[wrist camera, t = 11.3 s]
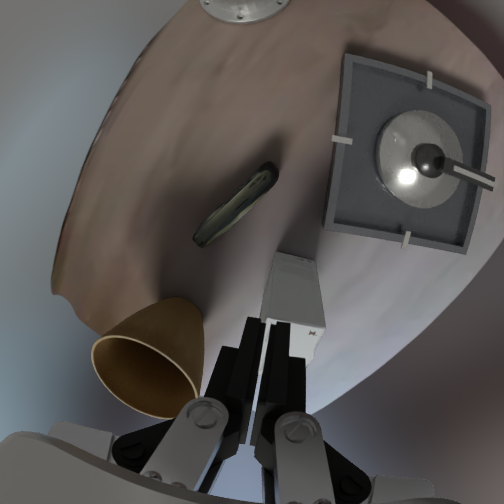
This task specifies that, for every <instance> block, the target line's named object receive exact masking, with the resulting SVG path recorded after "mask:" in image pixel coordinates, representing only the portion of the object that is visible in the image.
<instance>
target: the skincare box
mask: <svg viewBox="0 0 504 504" xmlns="http://www.w3.org/2000/svg"><path fill="white" fill-rule="evenodd" d="M260 319H261V322H262V323H266V329H265V335H264V341H263V348H262V354H261V360H260V366H259V372H258V374H261V375H262V372H263V366H264V361H265V355H266V349H267V343H268V338H269V332H270V326H271V324H275V325H276V322H277V321H280V322H288V323H291V328H290V348H289V356H292V357H301V358H305V359H306V368H307V366H308V364H309V363H310V362H311V361H312V359H313V357H314V351H315V349H316V347H317V345H318V342H319V340H320V339H321V337H322V335H323V333H324V332H325V330H326V324H325V317H324V310H323V304H322V297H321V291H320V285H319V279H318V273H317V268H316V262H315V261H313V260H309V259H305V258H301V257H297V256H293V255H289V254H285V253H281V252H275V255H274V261H273V265H272V269H271V274H270V277H269V281H268V284H267V287H266V291H265V293H264V296H263V300H262V305H261V312H260Z"/></svg>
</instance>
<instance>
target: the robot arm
mask: <svg viewBox="0 0 504 504" xmlns="http://www.w3.org/2000/svg"><path fill="white" fill-rule="evenodd" d="M199 1H200V3H201V5H202V7H203V8H204V10H205V11H206V12H207V13H208V14H209V15H211V16H212V17H214V18H216V19H217V20H220V21H223V22H226V23H232V24H250V23H256V22H260V21H263V20H266V19H269V18H271V17H273V16H275V15H277V14H278V13H279V12H281V11H282V10H283V9H284V8H285V7H286V6H287V5H288V4H289V2H290V0H199ZM279 4H281V5H279ZM240 18H243V19H240ZM290 328H291V323H288V322H280V321H277V322H276V325H275V324H271V326H270V332H269V338H268V343H267V349H266V355H265V361H264V366H263V372H262V378H261V384H260V390H259V396H258V401H257V407H256V413H255V419H254V424H253V430H252V435H251V440H250V445H252V446H255V451H254V453H255V456H254V457H255V458H256V459H257V460H258V461H259V463H260V464H261V465H262V498H263V503H254V502H248V501H240V500H235V499H229V498H223V497H218V496H213V495H210V493H211V490H212V489H213V487H214V485H215V482H216V480H217V478H218V476H219V474H220V472H221V470H222V467H223V465H224V463H225V460H226V459H227V458H229V457H231V456H233V455H235V454H236V452H237V450H238V446H239V444H245V441H246V436H247V431H248V426H249V420H250V415H251V410H252V405H253V400H254V394H255V389H256V383H257V378H258V372H259V366H260V360H261V354H262V348H263V341H264V335H265V329H266V323H262V322H261V319H260V318H253V317H247V320H246V324H245V328H244V331H243V335H242V339H241V342H240V346H239V348H233V347H227V346H222V348H221V350H220V353H219V356H218V358H217V361H216V364H215V367H214V370H213V373H212V375H211V378H210V381H209V384H208V387H207V389H206V392H205V395H204V397H199V398H196V399H193V400H191V401H189V402H187V404H186V405H185V406H184V407H183V408H182V410H181V412H180V413H179V415H178V416H177V417H175V418H173V419H170V420H167V421H165V422H162V423H159V424H156V425H153V426H150V427H147V428H144V429H141V430H138V431H135V432H132V433H128V434H125V435H123V436H121V437H120V436H115V435H113V433H111V432H106V431H101V430H96V429H92V428H88V427H84V426H80V425H76V424H73V423H69V422H58V423H56V424H54V425H53V426H52V427H51V429H50V430H49V433H48V435H45V434H42V433H36V432H28V431H27V432H26V431H21V432H15V433H13V434H10V435H9V436H7V437H6V438H5V439H4V440H3V441H2V442H1V443H0V504H461V503H459V502H457V501H454V500H450V499H445V498H434V488H433V486H432V484H431V483H430V482H429V481H427V480H425V479H418V478H401V477H389V476H380V475H376V476H375V477H371V476H367V475H366V474H365V473H364V472H363V471H362V470H360V469H359V468H358V467H356V466H355V465H354V464H353V463H351V462H350V461H349V460H347V459H346V458H345V457H344V456H342V455H341V454H340V453H339V452H337V451H336V450H335V449H334V448H333V447H331V446H330V445H329V444H328V443H326V442H325V441H324V440H323V436H322V431H321V427H320V424H319V422H318V421H317V420H316V419H315V418H314V417H313V416H311V415H310V414H307V413H306V359H305V358H301V357H292V356H289V348H290Z"/></svg>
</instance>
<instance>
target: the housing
mask: <svg viewBox="0 0 504 504" xmlns="http://www.w3.org/2000/svg"><path fill="white" fill-rule="evenodd" d="M414 110H422V111H427V112H431V113H433V114H435V115H437V116H439V117H440V118H442V119H443V120H444V121H445V122H446V123H447V124H448V125H449V126H450V127H451V128H452V130H453V131H454V133H455V134H456V136H457V138H458V141H459V143H460V146H461V150H462V155H463V164H465V165H468V166H470V167H472V168H475V169H477V170H479V171H482V172H484V173H485V171H486V164H487V157H488V148H489V138H490V124H491V105H489V104H487V103H485V102H484V101H482V100H480V99H478V98H476V97H474V96H472V95H470V94H468V93H465V92H463V91H461V90H459V89H457V88H454V87H452V86H450V85H448V84H445V83H443V82H440V81H438V80H435V79H433V78H432V72H430V71H426V76H425V75H422V74H419V73H416V72H413V71H410V70H407V69H404V68H401V67H398V66H395V65H391V64H388V63H384V62H381V61H377V60H373V59H369V58H365V57H361V56H357V55H352V54H347V53H345V54H344V56H343V57H342V61H341V75H340V88H339V99H338V109H337V119H336V128H335V135H332V138H331V141H334V145H333V153H332V161H331V168H330V175H329V182H328V188H327V195H326V201H325V208H324V214H323V219H322V226H323V229H324V230H329V231H335V232H342V233H348V234H354V235H360V236H366V237H372V238H378V239H384V240H390V241H396V242H401V243H402V245H401V249H407V245H408V244H413V245H418V246H423V247H429V248H434V249H439V250H445V251H450V252H455V253H460V254H465V255H466V253H467V250H468V246H469V243H470V239H471V236H472V232H473V229H474V225H475V221H476V217H477V213H478V208H479V204H480V199H481V194H482V189H483V188H481V187H478V186H476V185H473V184H471V183H468V182H466V181H463V180H461V179H460V182H459V184H458V186H457V188H456V190H455V191H454V193H453V194H452V195H451V197H450V198H449V199H447V200H446V201H445V202H443V203H442V204H440V205H438V206H435V207H432V208H417V207H413V206H411V205H408V204H406V203H405V202H403V201H401V200H400V199H398V198H397V197H395V196H394V195H393V194H392V193H391V192H390V191H389V190H388V189H387V188H386V186H385V185H384V183H383V182H382V180H381V178H380V175H379V173H378V169H377V165H376V157H375V151H376V144H377V140H378V137H379V134H380V132H381V130H382V128H383V127H384V126H385V124H386V123H387V122H388V121H389V120H390V119H392V118H393V117H395V116H396V115H398V114H401V113H404V112H408V111H414Z"/></svg>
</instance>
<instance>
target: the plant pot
mask: <svg viewBox="0 0 504 504" xmlns="http://www.w3.org/2000/svg"><path fill="white" fill-rule="evenodd" d="M91 358H92V363H93V366H94V369H95V371H96V373H97V375H98V377H99V378H100V380H101V381H102V383H103V384H104V385H105V387H106V388H107V389H108V390H109V391H110V392H111V393H112V394H113V395H114V396H115V397H116V398H118V399H119V400H120V401H121V402H123V403H124V404H126V405H127V406H129V407H131V408H133V409H134V410H137V411H138V412H141V413H143V414H146V415H149V416H152V417H156V418H160V419H173V418H175V417H177V416H178V415H179V413H180V412H181V410H182V408H183V407H184V406H185V405H186V404H187V402H189V401H191V400H193V399H196V398H199V395H200V388H201V382H202V375H203V365H204V329H203V321H202V316H201V313H200V311H199V310H198V308H197V307H196V306H195V305H194V304H193V303H192V302H190V301H189V300H187V299H184V298H181V297H171V298H168V299H165V300H162V301H159V302H157V303H154V304H152V305H150V306H148V307H146V308H144V309H142V310H140V311H138V312H136V313H135V314H133V315H131V316H130V317H128V318H127V319H125V320H124V321H122V322H121V323H119V324H118V325H116V326H115V327H114V328H112V329H111V330H110V331H109V332H107V333H106V334H105V335H103V336H102V337H101V338H100V339H98V340H97V341H96V342H95V343H94V345H93V347H92V352H91Z"/></svg>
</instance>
